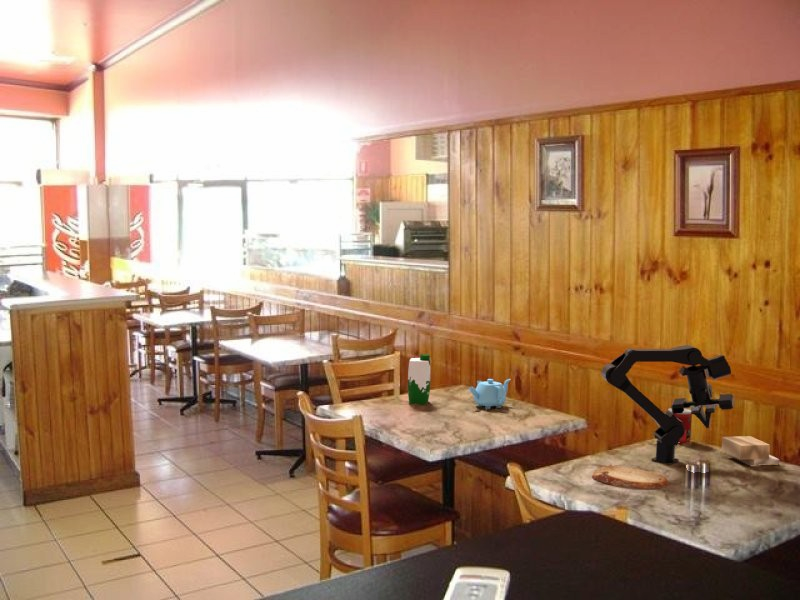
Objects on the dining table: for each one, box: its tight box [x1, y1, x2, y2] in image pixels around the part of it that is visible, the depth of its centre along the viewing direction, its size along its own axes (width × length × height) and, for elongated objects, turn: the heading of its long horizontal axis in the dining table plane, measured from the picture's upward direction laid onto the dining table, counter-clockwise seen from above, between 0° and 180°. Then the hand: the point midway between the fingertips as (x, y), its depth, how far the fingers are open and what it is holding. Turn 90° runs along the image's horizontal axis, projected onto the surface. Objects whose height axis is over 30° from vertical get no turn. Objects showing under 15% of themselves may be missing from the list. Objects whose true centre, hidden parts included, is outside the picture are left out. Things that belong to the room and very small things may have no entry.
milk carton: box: [407, 353, 431, 405], centre depth 355 cm, size 9×9×20 cm
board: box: [727, 453, 780, 466], centre depth 279 cm, size 10×13×2 cm
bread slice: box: [591, 464, 670, 489], centre depth 254 cm, size 18×18×4 cm
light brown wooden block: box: [721, 435, 771, 460], centre depth 278 cm, size 4×11×10 cm
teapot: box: [468, 378, 511, 410], centre depth 351 cm, size 15×14×11 cm
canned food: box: [667, 407, 693, 444], centre depth 302 cm, size 8×8×11 cm
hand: (708, 427), depth 278 cm, fingers closed
